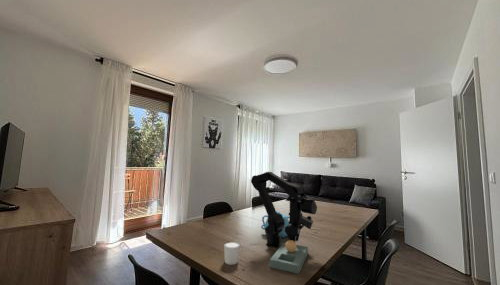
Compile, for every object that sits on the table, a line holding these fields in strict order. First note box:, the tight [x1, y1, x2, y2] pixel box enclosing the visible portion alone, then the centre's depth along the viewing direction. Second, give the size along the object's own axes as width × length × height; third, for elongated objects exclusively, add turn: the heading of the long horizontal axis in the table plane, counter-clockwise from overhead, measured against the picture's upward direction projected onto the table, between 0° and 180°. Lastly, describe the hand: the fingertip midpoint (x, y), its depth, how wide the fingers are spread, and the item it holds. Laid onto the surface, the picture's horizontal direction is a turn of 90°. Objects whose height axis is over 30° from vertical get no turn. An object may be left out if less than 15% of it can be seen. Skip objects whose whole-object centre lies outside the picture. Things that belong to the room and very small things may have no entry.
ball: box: [285, 239, 297, 252], centre depth 97 cm, size 5×5×5 cm
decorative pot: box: [260, 211, 290, 238], centre depth 131 cm, size 16×16×14 cm
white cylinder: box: [223, 241, 241, 266], centre depth 93 cm, size 7×7×7 cm
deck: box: [269, 242, 309, 275], centre depth 96 cm, size 12×22×3 cm, turn 156°
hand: (295, 243), depth 105 cm, fingers open, 9 cm apart
